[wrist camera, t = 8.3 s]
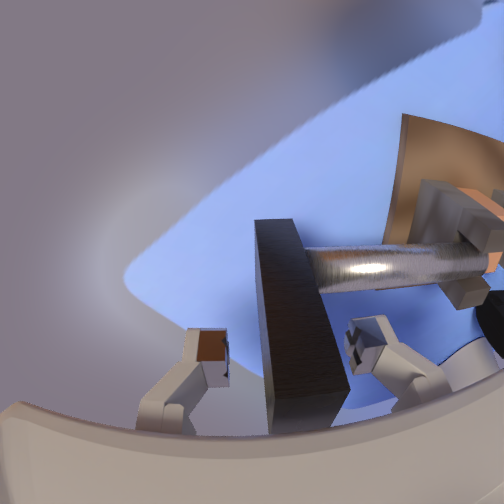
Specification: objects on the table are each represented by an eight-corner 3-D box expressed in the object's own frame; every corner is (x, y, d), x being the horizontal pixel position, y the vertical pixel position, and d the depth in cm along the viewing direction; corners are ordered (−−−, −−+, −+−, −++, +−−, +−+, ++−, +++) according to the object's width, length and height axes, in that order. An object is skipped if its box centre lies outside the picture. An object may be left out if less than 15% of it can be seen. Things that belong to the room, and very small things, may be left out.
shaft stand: (476, 272, 26) (518, 324, 18) (371, 284, 26) (411, 360, 18) (513, 146, 17) (577, 182, 9) (402, 113, 17) (491, 143, 9)
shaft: (454, 266, 17) (525, 362, 9) (255, 280, 17) (269, 444, 8) (470, 219, 15) (561, 312, 7) (254, 219, 15) (274, 399, 6)
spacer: (462, 239, 22) (494, 271, 17) (435, 240, 22) (468, 275, 17) (476, 189, 19) (514, 216, 15) (449, 186, 19) (489, 215, 14)
